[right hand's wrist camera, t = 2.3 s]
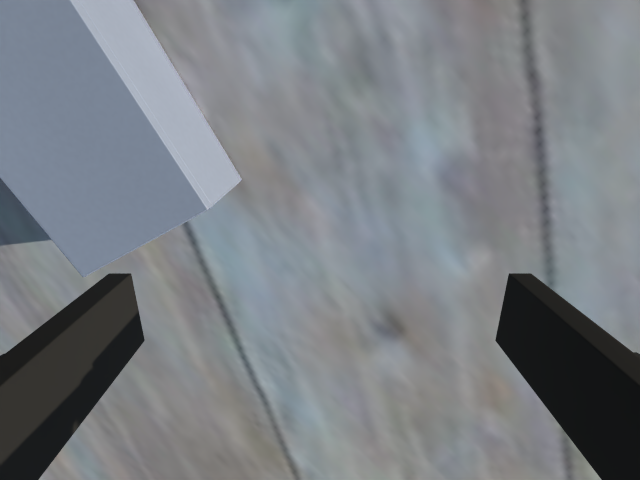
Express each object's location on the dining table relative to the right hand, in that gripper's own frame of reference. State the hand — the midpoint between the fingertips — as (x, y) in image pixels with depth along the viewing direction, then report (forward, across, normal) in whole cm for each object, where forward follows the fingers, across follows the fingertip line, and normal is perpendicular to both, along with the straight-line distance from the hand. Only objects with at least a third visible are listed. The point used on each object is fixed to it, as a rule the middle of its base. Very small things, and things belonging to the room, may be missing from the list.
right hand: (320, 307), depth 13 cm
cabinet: (+21, +16, -7) cm, 28 cm away
